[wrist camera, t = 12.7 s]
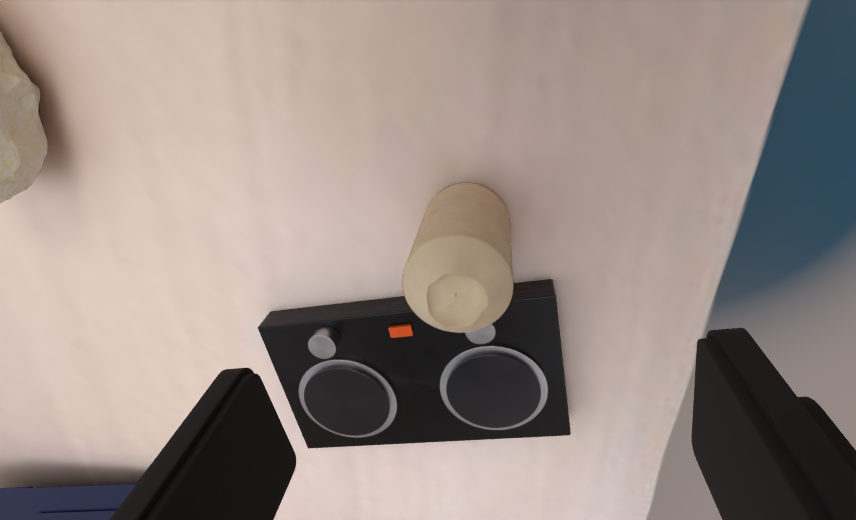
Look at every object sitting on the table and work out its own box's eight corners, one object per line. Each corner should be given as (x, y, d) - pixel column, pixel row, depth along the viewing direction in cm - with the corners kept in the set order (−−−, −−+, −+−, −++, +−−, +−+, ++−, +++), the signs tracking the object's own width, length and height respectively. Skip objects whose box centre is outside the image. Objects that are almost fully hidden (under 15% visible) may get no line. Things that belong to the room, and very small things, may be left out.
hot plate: (270, 311, 37) (249, 337, 34) (552, 278, 32) (557, 305, 29) (316, 428, 42) (302, 460, 39) (567, 413, 37) (573, 448, 34)
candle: (421, 182, 31) (390, 249, 22) (509, 179, 30) (514, 248, 21) (428, 260, 33) (402, 349, 24) (509, 260, 32) (514, 351, 23)
